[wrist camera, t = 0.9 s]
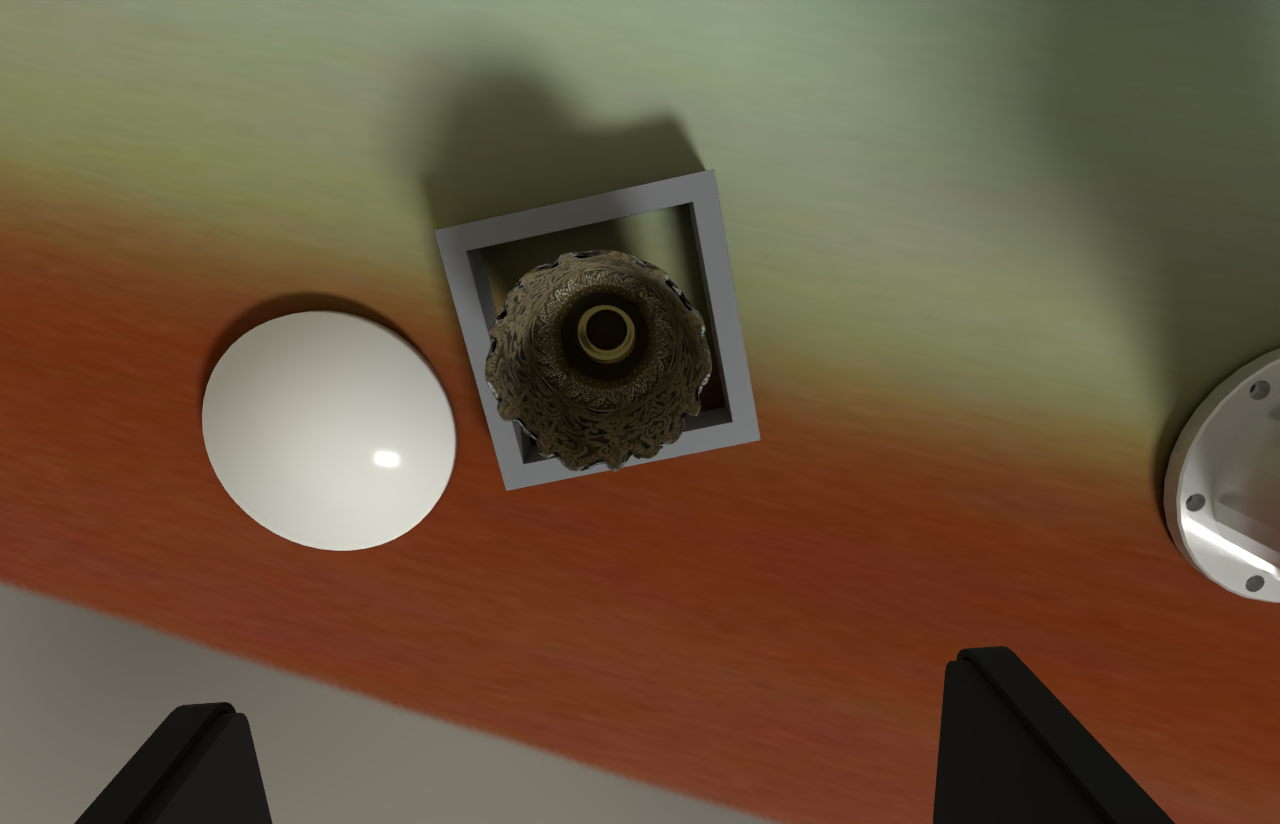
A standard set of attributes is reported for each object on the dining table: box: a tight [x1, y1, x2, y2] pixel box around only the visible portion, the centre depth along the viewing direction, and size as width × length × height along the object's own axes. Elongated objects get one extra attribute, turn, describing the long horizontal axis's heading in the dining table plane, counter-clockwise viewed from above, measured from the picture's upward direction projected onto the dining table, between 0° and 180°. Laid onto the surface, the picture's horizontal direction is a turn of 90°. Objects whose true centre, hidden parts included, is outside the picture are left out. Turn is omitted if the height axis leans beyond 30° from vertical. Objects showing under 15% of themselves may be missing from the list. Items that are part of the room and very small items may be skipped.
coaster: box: [202, 310, 458, 550], centre depth 31 cm, size 11×11×1 cm
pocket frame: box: [434, 169, 760, 491], centre depth 29 cm, size 11×11×2 cm
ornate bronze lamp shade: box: [485, 250, 712, 471], centre depth 27 cm, size 8×7×8 cm
